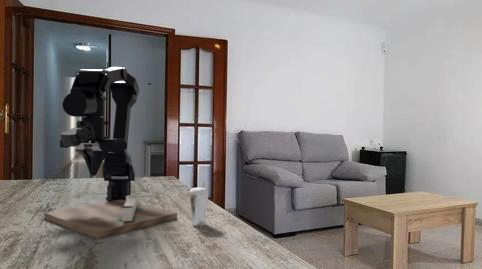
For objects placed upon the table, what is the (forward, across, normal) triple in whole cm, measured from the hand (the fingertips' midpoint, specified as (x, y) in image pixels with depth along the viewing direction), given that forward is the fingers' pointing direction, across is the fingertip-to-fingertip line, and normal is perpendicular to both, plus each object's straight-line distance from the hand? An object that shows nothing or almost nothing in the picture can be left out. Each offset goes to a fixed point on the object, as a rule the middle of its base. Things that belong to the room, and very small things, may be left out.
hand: (93, 175), depth 92 cm
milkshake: (+10, +30, +5) cm, 32 cm away
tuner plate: (+10, +7, -1) cm, 13 cm away
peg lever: (+8, +13, 0) cm, 15 cm away
